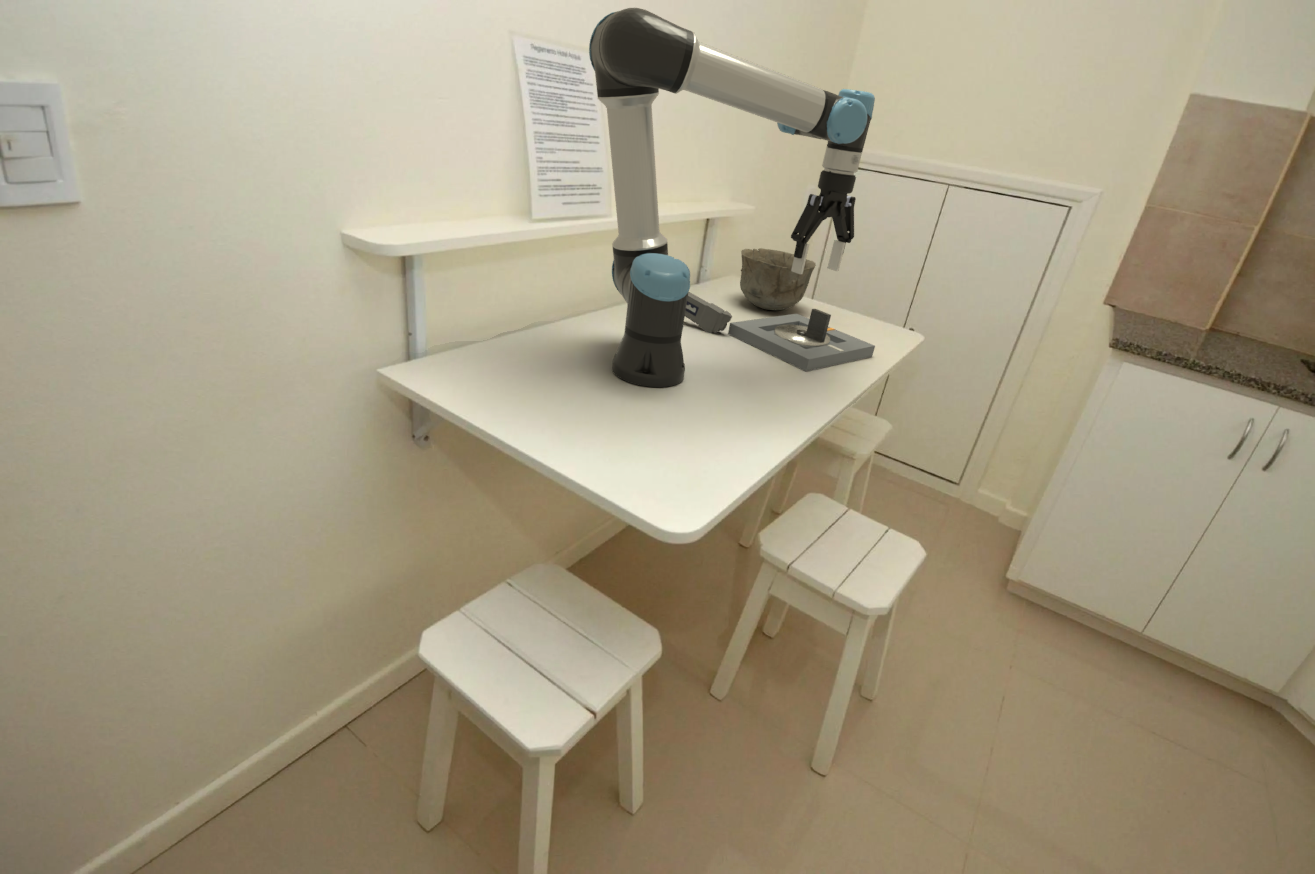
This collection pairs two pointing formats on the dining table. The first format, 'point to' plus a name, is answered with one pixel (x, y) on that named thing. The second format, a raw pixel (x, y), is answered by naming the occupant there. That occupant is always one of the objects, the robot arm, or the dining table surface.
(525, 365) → the dining table surface
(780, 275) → the bowl
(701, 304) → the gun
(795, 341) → the dial
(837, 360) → the panel
